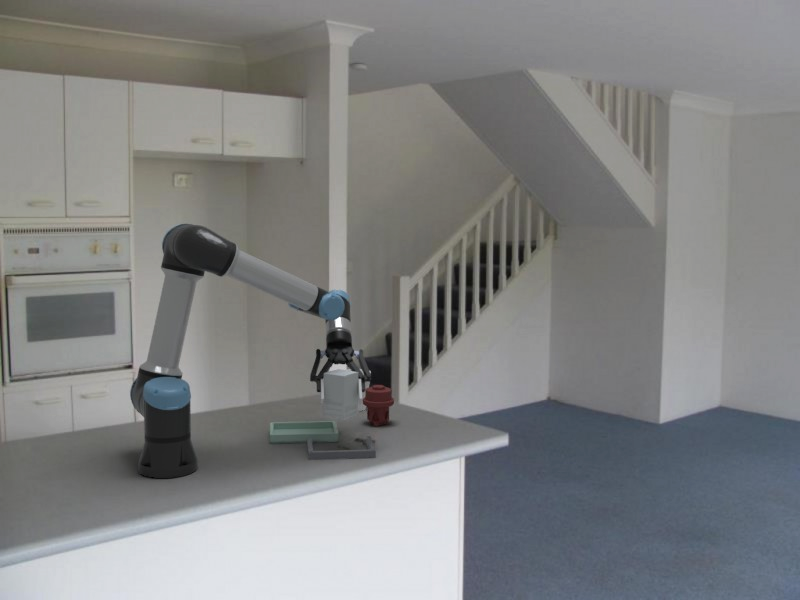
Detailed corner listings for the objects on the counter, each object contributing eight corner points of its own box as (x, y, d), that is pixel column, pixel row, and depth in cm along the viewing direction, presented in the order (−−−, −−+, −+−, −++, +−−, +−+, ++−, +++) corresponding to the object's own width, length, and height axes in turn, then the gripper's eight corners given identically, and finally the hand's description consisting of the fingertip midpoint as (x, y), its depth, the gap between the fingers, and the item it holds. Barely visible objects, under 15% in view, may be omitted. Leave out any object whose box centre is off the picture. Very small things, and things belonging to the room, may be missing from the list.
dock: (308, 459, 227) (308, 452, 227) (307, 444, 241) (307, 437, 241) (375, 457, 230) (375, 450, 229) (369, 442, 244) (370, 436, 244)
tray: (269, 443, 241) (269, 435, 241) (270, 430, 255) (270, 422, 255) (338, 441, 244) (338, 433, 244) (335, 429, 258) (335, 420, 257)
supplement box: (358, 415, 235) (359, 371, 234) (343, 420, 229) (344, 375, 227) (337, 411, 239) (338, 368, 238) (322, 416, 233) (322, 372, 231)
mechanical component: (396, 421, 269) (390, 429, 259) (366, 418, 271) (359, 426, 261) (397, 383, 267) (390, 390, 257) (367, 381, 269) (359, 388, 259)
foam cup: (340, 411, 280) (340, 373, 278) (346, 404, 289) (346, 368, 287) (367, 412, 278) (368, 375, 277) (373, 406, 287) (373, 369, 286)
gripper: (375, 343, 249) (380, 407, 235) (300, 343, 245) (300, 408, 232) (377, 329, 243) (383, 393, 229) (300, 328, 240) (301, 394, 226)
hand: (341, 401), depth 230 cm, fingers closed on supplement box, 10 cm apart
